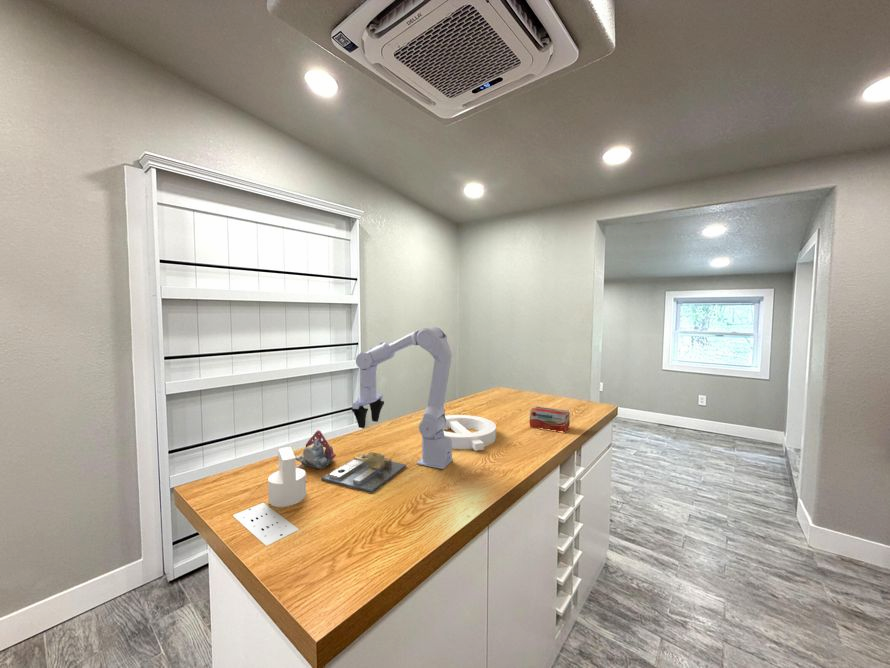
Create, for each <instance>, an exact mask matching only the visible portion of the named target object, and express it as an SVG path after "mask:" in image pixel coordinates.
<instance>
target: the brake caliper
mask: <svg viewBox="0 0 890 668" xmlns="http://www.w3.org/2000/svg"><path fill="white" fill-rule="evenodd" d="M324 448H325V449H324ZM336 455H337V454H336V453H335V452H334V448H333V445H330V444H329V443H328V441H327V440H326V438H325V436H324V434H323V433H322V431H321V430H319V429H318V430H317V431H315V432H314V433H313V435H311V437H310V438H309V440H307V442H306V444H305V448H304V449H303V452H302V453H301V454H299V455H297V456H295V457H296V461H298V462H300V463H299V464H298V465H296V468H301V467H302V466H304V467H310V468H311V467H312V468H317V469H319V470H320V469H324V468H327V466H328V465H330V464H332V462H333V460H334V458H335V457H336Z"/></svg>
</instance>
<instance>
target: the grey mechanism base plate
mask: <svg viewBox="0 0 890 668" xmlns="http://www.w3.org/2000/svg"><path fill="white" fill-rule="evenodd" d="M357 457H359V458H364V459H367V454H360V455H358V456H357ZM406 468H407V464H404V463H402V462H401V463H400V462H396V461H393V459H392V458H388V457H384V467H383V468H382V469H377V468H372V467H368V466H367V462H362V461H358V460H354V458H353V459H351V460H349V461H347V462H346V463H345V464H343V465H340V466H339V467H337V468H335V469H334V470H332V471H330V472H329V473H327V474H325V475H323V476H321V481H323V482H327V483H330V484H333V485H334V484H335V485H338V486H342V487H345V488H349V489H354V490H356V491H357V490H358V491H361V492H365V493H369V494H373V493H375V492H376V491H378V489H381V487H383V486H384V485H385V484H386V483H388V482H389V481H390V480H391V479H393V478H394V477H395V476H397V475H398V474H399V473H400V472H402V471H403V470H404V469H406Z"/></svg>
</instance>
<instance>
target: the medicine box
mask: <svg viewBox="0 0 890 668" xmlns="http://www.w3.org/2000/svg"><path fill="white" fill-rule="evenodd" d="M529 411H530V413H529V427H530V428H531V427H536V428H543V429H550V430H556V431H563V432H566V433H567V431H568V430H569V428H570V424H571V422H570V410H565V409H559V408H553V407H544V406H536V405H535V406H534V407H533V408H531V409H530V410H529ZM568 427H569V428H568ZM536 428H535V429H536ZM566 430H567V431H566Z"/></svg>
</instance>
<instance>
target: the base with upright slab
mask: <svg viewBox="0 0 890 668" xmlns="http://www.w3.org/2000/svg"><path fill="white" fill-rule="evenodd" d="M291 447H292V446H288V447H287V446H286V447H281V448H278V451H277V452H278V470H277V471H275V472H273V473H272V474H270V475H269V476H268V478H267V483H268V485H267V487H268V488H267V489H268V490H267V491H268V504H269V503H270V504H271V505H270V504H269V505H270V506H272V507H274V506H275V508H283V507H284V508H286V507H290V505H291V506H294V505H296V504H298V503H301V502H302V501H303V500H305V498H306V496H307V487H306V486H307V484H306V483H307V481H306V480H307V479H306V477H307V475H306V474H307V473H306V470H305V469H304V468H303V469H302V468H301V467H298V468H296V467H297V463H296V461H297V460H296V457H297V456H295V454H294V451H293V449H292V448H291ZM293 504H294V505H293Z"/></svg>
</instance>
